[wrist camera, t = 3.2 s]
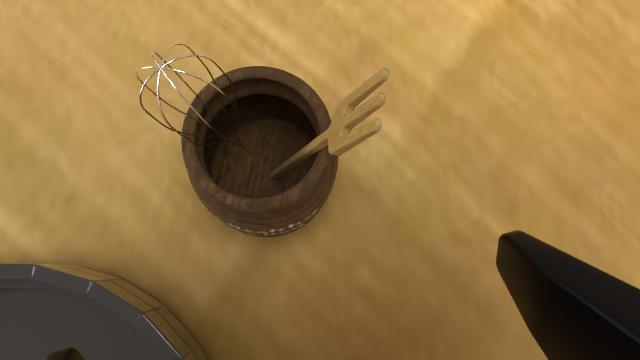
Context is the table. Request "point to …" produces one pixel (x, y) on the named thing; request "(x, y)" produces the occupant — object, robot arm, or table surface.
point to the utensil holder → (266, 143)
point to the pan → (85, 317)
